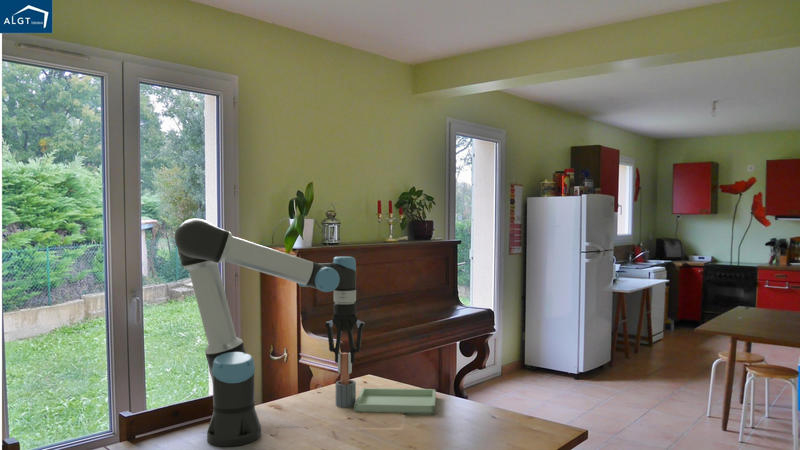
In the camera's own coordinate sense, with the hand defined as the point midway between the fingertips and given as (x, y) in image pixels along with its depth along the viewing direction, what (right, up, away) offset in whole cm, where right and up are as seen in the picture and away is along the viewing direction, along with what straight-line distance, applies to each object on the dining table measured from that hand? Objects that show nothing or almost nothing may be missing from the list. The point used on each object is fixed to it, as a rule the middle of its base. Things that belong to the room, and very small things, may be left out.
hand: (344, 372), depth 193 cm
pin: (+1, -10, 0) cm, 10 cm away
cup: (0, -11, 0) cm, 11 cm away
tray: (+17, -11, +1) cm, 21 cm away
